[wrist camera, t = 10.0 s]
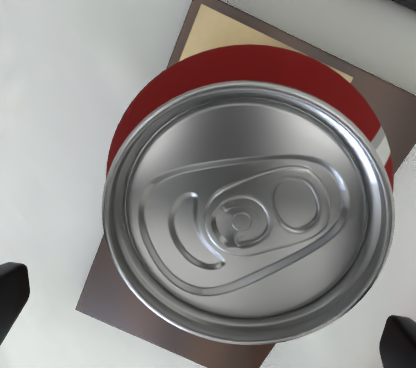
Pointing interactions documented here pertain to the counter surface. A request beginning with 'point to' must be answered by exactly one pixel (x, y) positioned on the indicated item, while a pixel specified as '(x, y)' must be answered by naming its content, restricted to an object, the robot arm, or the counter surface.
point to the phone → (407, 3)
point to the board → (185, 47)
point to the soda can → (249, 195)
